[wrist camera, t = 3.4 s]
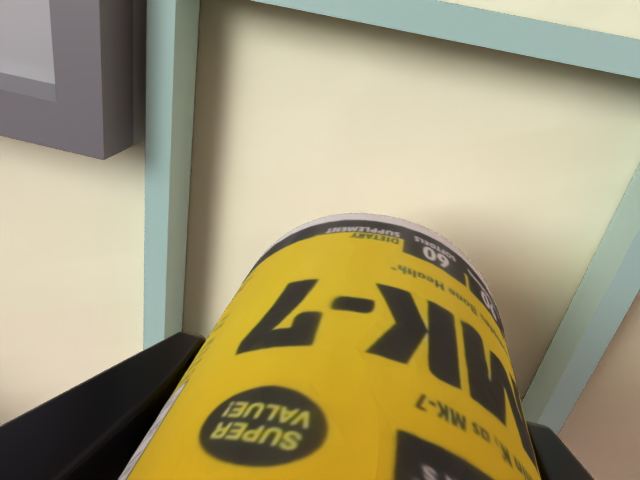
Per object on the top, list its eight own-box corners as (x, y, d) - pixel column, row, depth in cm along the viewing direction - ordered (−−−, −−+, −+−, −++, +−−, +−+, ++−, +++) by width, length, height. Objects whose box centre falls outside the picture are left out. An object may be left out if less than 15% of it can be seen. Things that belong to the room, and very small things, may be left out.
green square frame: (519, 452, 15) (527, 488, 14) (161, 357, 16) (142, 383, 14) (727, 57, 9) (766, 64, 8) (175, -50, 10) (147, -57, 9)
